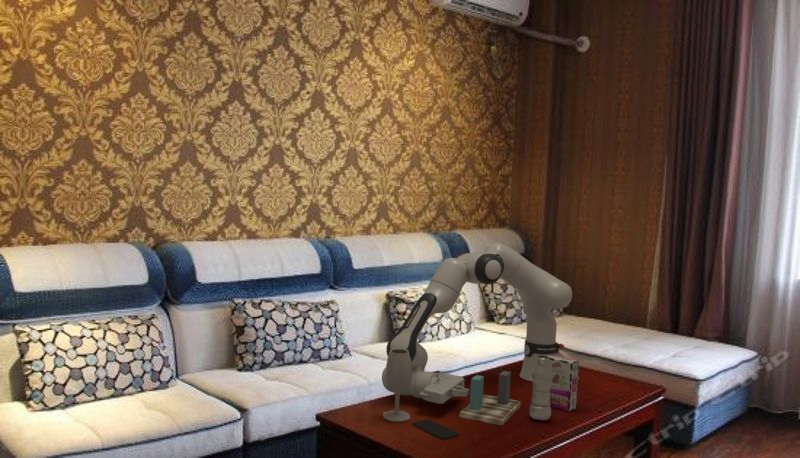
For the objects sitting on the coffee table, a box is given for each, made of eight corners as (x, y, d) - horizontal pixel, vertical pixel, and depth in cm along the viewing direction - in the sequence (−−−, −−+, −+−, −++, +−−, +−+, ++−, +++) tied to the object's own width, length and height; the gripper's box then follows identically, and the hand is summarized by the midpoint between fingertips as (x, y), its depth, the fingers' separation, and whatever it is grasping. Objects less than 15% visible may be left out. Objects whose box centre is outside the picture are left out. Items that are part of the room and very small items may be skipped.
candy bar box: (576, 409, 232) (580, 360, 231) (569, 412, 229) (572, 363, 228) (547, 400, 240) (550, 353, 239) (539, 403, 236) (542, 355, 235)
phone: (428, 418, 216) (462, 433, 204) (428, 421, 216) (461, 436, 204) (409, 423, 211) (443, 438, 199) (409, 425, 211) (442, 441, 199)
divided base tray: (459, 416, 219) (459, 409, 219) (480, 398, 238) (481, 392, 238) (502, 425, 214) (502, 418, 213) (521, 406, 232) (521, 399, 232)
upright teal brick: (469, 409, 221) (471, 378, 220) (474, 405, 226) (476, 375, 225) (477, 411, 220) (478, 380, 219) (482, 407, 225) (483, 376, 224)
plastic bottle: (550, 424, 217) (554, 360, 215) (528, 421, 218) (532, 358, 217) (550, 417, 223) (554, 355, 222) (529, 414, 224) (532, 353, 223)
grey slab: (497, 404, 228) (499, 374, 227) (501, 400, 232) (503, 370, 231) (504, 406, 226) (506, 375, 226) (509, 401, 231) (511, 372, 230)
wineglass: (378, 414, 218) (381, 348, 217) (403, 411, 222) (406, 346, 220) (388, 424, 210) (391, 355, 209) (415, 421, 214) (418, 353, 212)
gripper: (415, 384, 220) (456, 392, 214) (440, 369, 239) (478, 375, 233) (414, 404, 221) (455, 412, 215) (439, 387, 239) (477, 394, 233)
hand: (467, 393), depth 224 cm, fingers closed
